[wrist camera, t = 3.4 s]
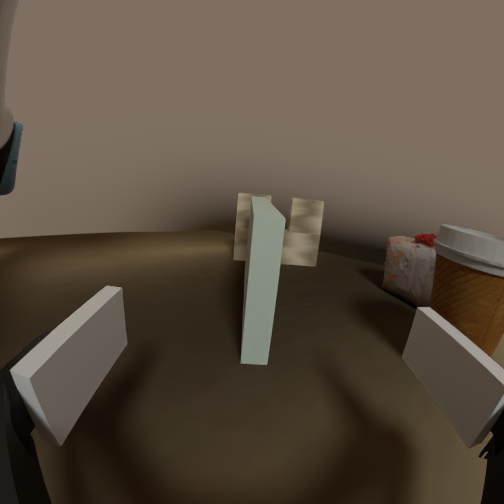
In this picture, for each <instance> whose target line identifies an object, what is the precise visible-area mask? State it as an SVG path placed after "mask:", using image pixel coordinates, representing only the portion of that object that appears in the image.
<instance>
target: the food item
mask: <svg viewBox="0 0 504 504" xmlns="http://www.w3.org/2000/svg"><path fill="white" fill-rule="evenodd" d="M434 238H437V235H436V236H434V234H429V235H428V234H425V235H423V234H421V235H417V236H415V239H414V238H409V237H405V236H396V237H390V238H389V241H388V245H387V250H388V251H387V255H386V263H385V264H384V265H385V274H384V280H383V285H382V288H383V289H384V290H386V291H388V292H390V293H393V294H395V295H397V296H399V297H401V298H403V299H405V300H406V301H408V302H410V303H412V304H414V305H415V306H417V307H429V306H430V300H431V293H432V286H433V278H434V270H435V262H436V252H435V244H434V242H433V239H434Z"/></svg>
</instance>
